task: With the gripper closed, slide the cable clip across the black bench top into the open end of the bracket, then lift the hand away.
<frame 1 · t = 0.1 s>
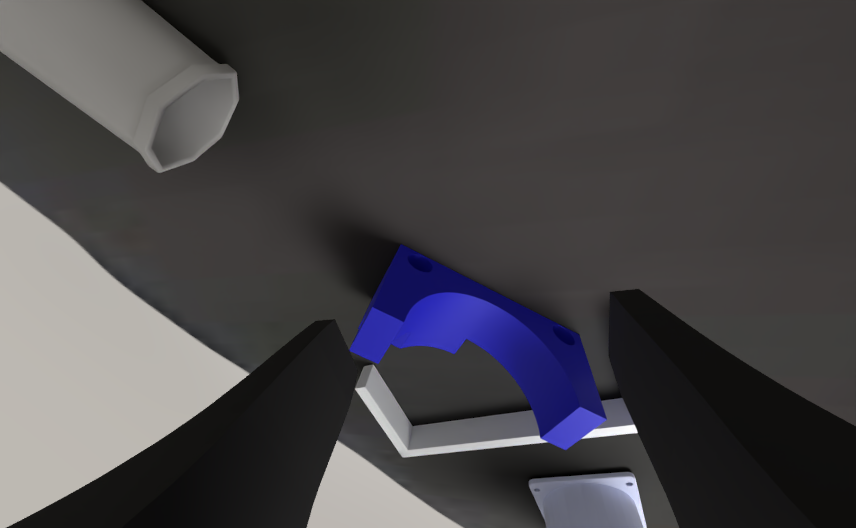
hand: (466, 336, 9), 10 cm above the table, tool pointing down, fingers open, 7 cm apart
cable clip: (473, 312, 22), on the table
bracket: (497, 379, 24), on the table
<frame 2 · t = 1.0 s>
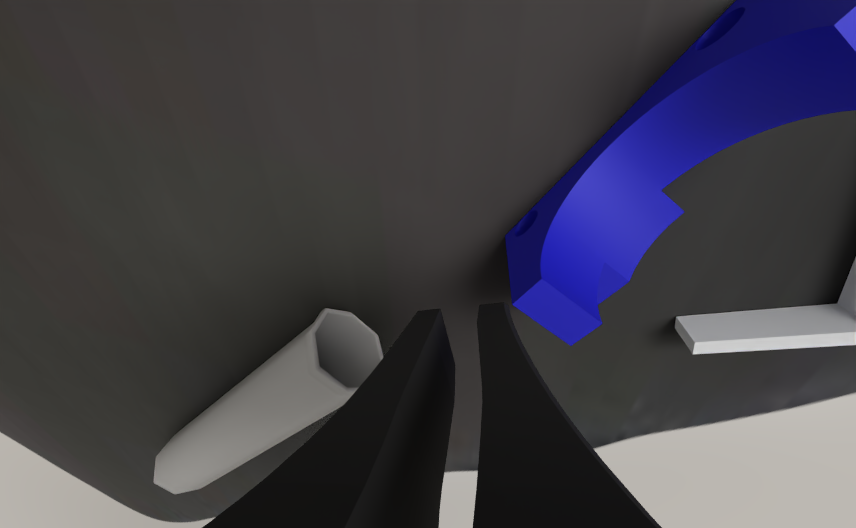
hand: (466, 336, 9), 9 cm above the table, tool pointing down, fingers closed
cable clip: (633, 168, 16), on the table
bracket: (793, 154, 14), on the table
tube: (265, 392, 28), on the table
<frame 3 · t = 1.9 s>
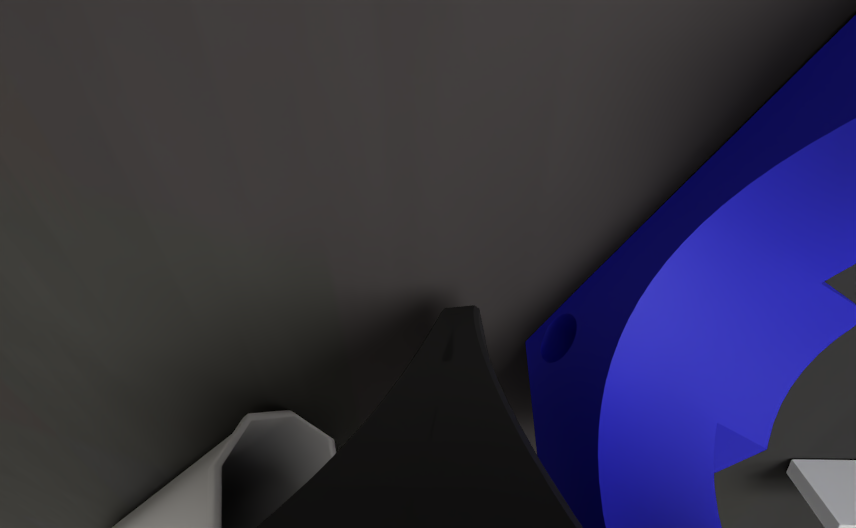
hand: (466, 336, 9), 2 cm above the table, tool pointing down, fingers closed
cable clip: (746, 231, 9), on the table, touching gripper
tube: (206, 488, 22), on the table
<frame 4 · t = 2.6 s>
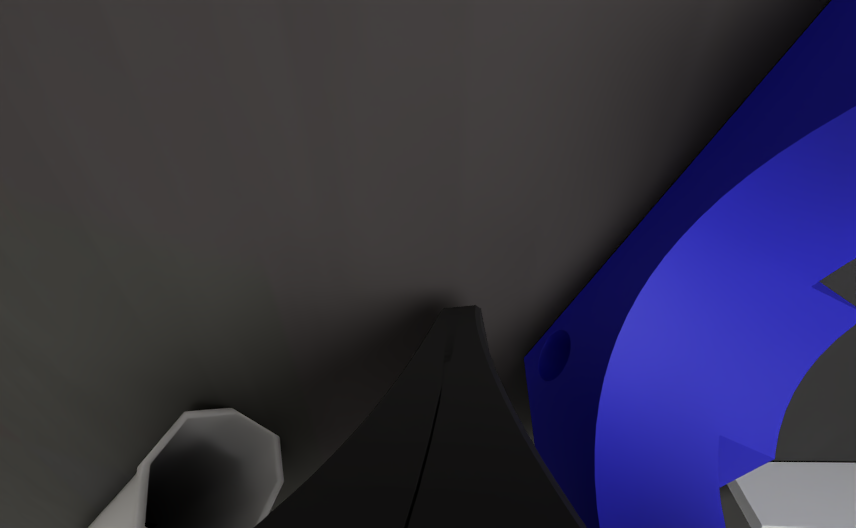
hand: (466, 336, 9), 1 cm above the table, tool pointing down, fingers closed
cable clip: (732, 236, 9), on the table, touching gripper
tube: (170, 491, 22), on the table
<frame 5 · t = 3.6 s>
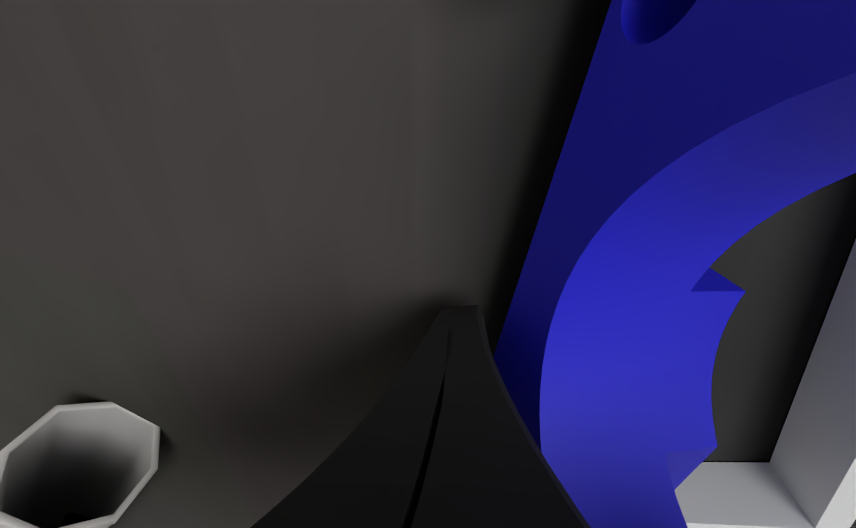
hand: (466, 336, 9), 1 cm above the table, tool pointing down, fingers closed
cable clip: (609, 249, 9), point 1 cm above the table, touching gripper
bracket: (680, 282, 9), on the table
tube: (96, 487, 23), on the table
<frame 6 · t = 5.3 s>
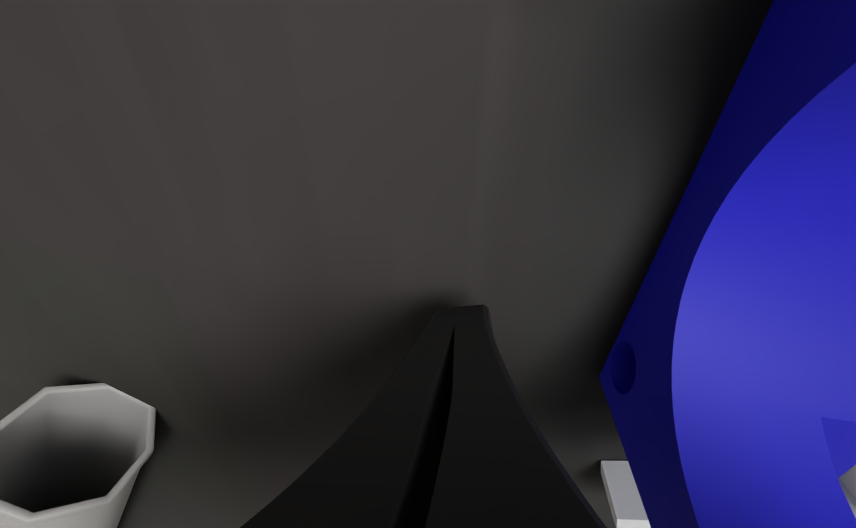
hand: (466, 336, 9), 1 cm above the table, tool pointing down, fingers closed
cable clip: (770, 207, 8), on the table
bracket: (751, 274, 9), on the table
tube: (106, 484, 23), on the table
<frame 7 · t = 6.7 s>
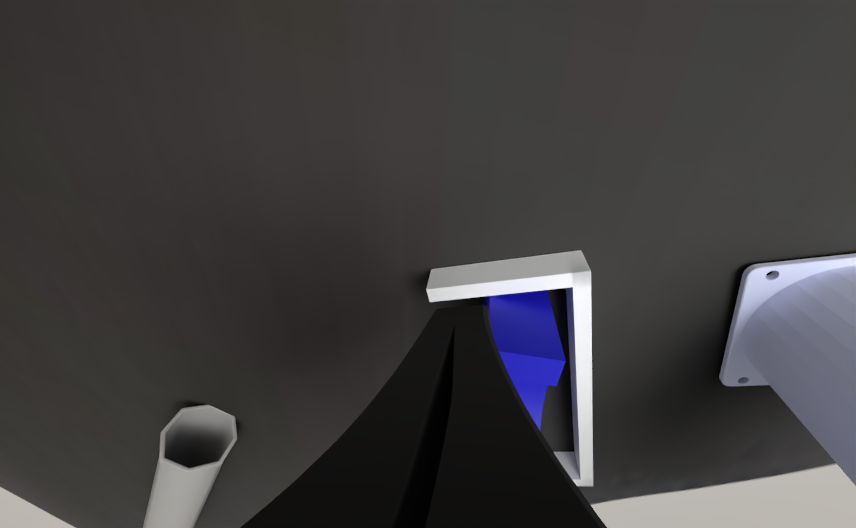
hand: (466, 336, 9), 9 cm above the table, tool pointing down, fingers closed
cable clip: (509, 354, 23), on the table
bracket: (513, 377, 23), on the table
tube: (199, 467, 36), on the table
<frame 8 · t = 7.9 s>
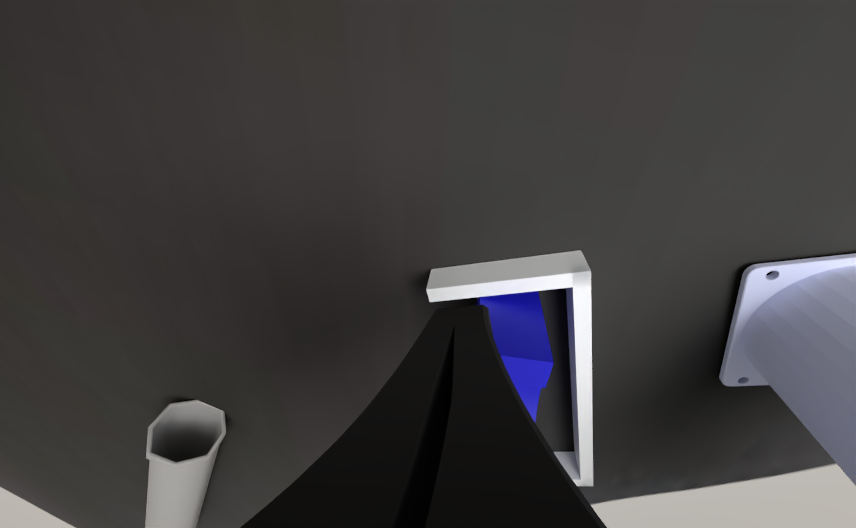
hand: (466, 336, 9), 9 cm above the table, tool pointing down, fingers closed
cable clip: (503, 355, 23), on the table
bracket: (513, 377, 23), on the table
tube: (196, 466, 36), on the table
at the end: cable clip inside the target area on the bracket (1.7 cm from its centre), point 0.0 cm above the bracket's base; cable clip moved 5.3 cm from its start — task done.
